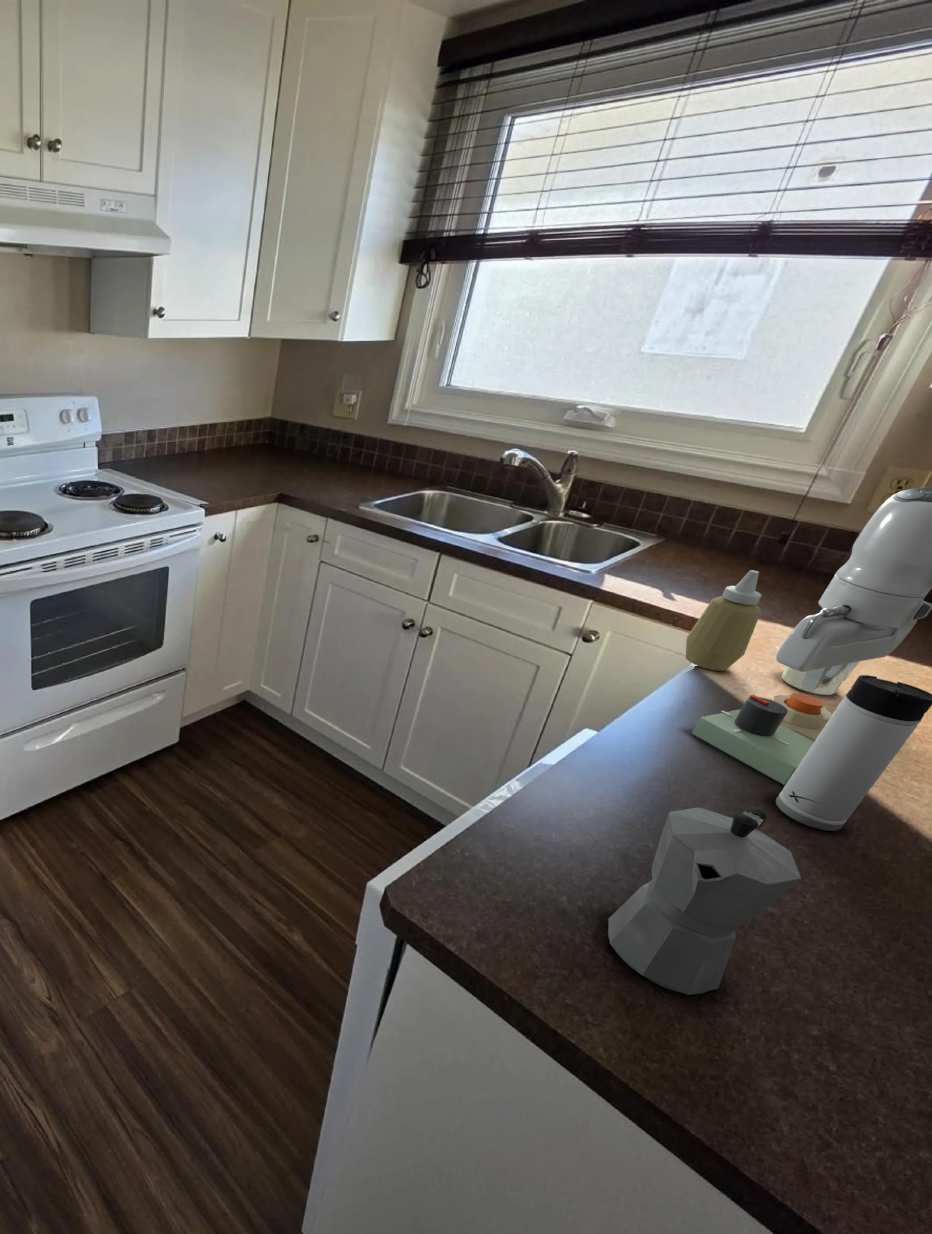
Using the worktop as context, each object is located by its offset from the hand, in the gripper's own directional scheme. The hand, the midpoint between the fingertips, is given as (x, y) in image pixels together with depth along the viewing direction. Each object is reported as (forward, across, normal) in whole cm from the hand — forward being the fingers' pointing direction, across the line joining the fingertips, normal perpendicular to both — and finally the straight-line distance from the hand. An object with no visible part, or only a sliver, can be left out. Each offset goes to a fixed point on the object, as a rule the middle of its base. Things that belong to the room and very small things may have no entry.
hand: (813, 685), depth 101 cm
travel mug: (+8, -21, -14) cm, 27 cm away
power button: (+4, 0, 0) cm, 4 cm away
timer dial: (+4, -12, -1) cm, 13 cm away
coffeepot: (+8, -60, -24) cm, 65 cm away
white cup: (+8, +19, +8) cm, 22 cm away
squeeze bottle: (+8, +9, +18) cm, 21 cm away
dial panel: (+8, -12, -4) cm, 15 cm away
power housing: (+8, 0, -1) cm, 8 cm away
